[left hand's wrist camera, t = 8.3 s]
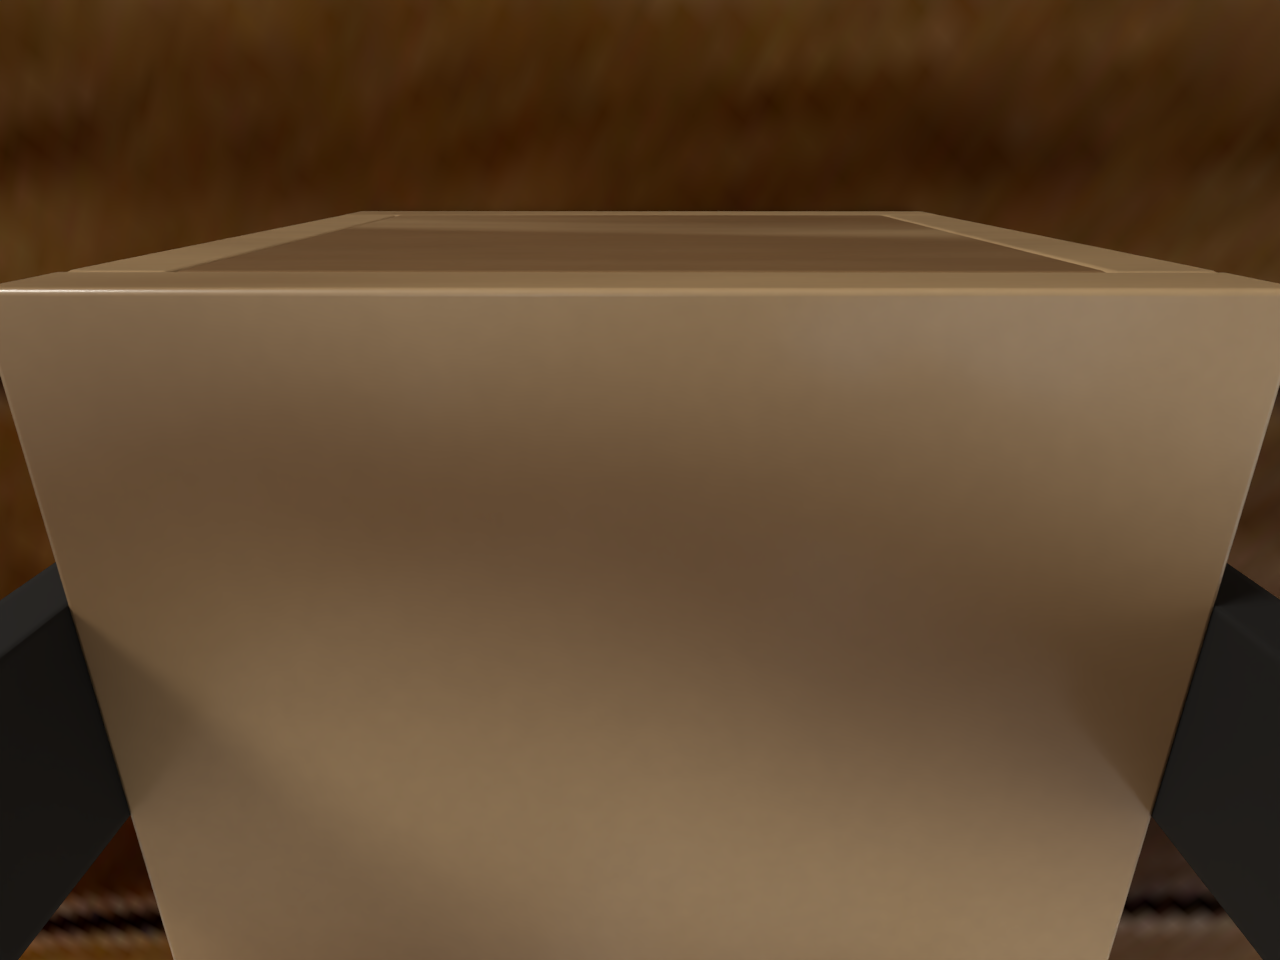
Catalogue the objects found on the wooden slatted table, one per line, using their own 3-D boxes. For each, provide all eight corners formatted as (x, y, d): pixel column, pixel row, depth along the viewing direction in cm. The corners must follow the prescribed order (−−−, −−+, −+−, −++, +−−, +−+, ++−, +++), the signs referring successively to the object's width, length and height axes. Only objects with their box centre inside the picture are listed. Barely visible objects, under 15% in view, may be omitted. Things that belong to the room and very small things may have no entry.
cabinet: (831, 958, 25) (955, 1479, 15) (449, 957, 25) (325, 1477, 15) (923, 210, 17) (1313, 288, 7) (359, 211, 17) (-32, 287, 7)
